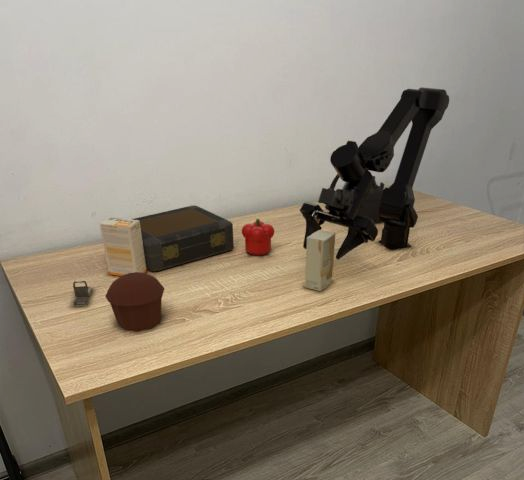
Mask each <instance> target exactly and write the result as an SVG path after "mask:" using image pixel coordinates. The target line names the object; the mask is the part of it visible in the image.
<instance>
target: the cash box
mask: <svg viewBox="0 0 524 480" xmlns="http://www.w3.org/2000/svg"><path fill="white" fill-rule="evenodd" d="M131 220H139V221H140V228H141V235H142V242H143V248H144V255H145V262H146V269H147V270H148V271H150V272H158V271H159V272H160V271H163V270H167V269H171V268H173V267H177V266H181V265H184V264H187V263H190V262H191V263H192V262H194V261H198V260H201V259H204V258H209V257H211V256H216V255H219V254H222V253H225V252H230V251H231V250H233V249H234V224H233V222H232V221H231V220H228V219H227V218H224V217H223V216H220V215H218V214H215V213H213V212H211V211H209V210H207V209H205V208H203V207H200V206H198V205H196V204H195V205H189V206H183V207H179V208H174V209H170V210H167V211H162V212H156V213H153V214H149V215H145V216H144V215H143V216H139V217H135V218H131Z"/></svg>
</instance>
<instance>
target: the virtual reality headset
mask: <svg viewBox="0 0 524 480" xmlns="http://www.w3.org/2000/svg"><path fill="white" fill-rule="evenodd" d="M339 179H340V177H339V175H338V173H336V175H335V176H334V178H333V179H332V181H331V183H330V186H329V187H328V188H327V189H329V190H333V191H336V189H335V188H336V186H337V183H338V182H339ZM384 189H385V183H383V182H382V181H381V182H380V183H379V185H378V184H376V189H373V188H370V190H369V192H368V194H367V195H366V197H365V199H364V201H363V203H362V204H363V206H364V207H363V209H362V210H358V212H357V214H356V215H355V216H357V215H360V216H363V217H367V218H371V219H372V221H373V222H374V224H375V225H377V224H384V222H380V221H379V213H378V205H379V201H380V200H381V197H382V193H383V190H384Z"/></svg>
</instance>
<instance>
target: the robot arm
mask: <svg viewBox="0 0 524 480" xmlns="http://www.w3.org/2000/svg"><path fill="white" fill-rule="evenodd" d="M449 105H450V96H449V95H448V94H447V90H446V89H443V88H431V87H423V86H422V87H419V88H418V89H416V88H407V89H404V90H403V91H402V92H401V95H400V99H399V101H398V102H397V103H396V105H395V106H394V107H393V109H392V111H391V112H390V113H389V115H388V116H387V117H386V119H385V121H384V122H383V123H382V125H381V126H380V128H379V129H378V130H377V131H376V132H375V133H373V134H371V135H369V136H367V137H366V138H365V139H364V140H363V141H362V143H360V144H359V145H358V143H357V141H354V140H347V141H346V143H345V144H343V145H340V146H338V147H337V148H336V149H335V150H333V151H332V153H331V154H330V158H329V161H330V164H331V166H332V167H333V169H334V170H335V172H336V174H338V175H339V179H340V180H341V181H342V182H344V184H343V185H342V187H341V188H337V189H335V191H333V190H329V189H328V188H325V187H322V188H321V190H320V194H319V196H318V200H317V203H313V202H310V201H305V202H303V203H302V205H301V207H300V208H299V212H300V213H301V215H302V217H303V219H304V220H305V232H304V238H303V245H302V247H303V248H304V249H305V250H306V247H307V237H308V236H310V235H311V234H313V233H315V232H316V231H318V230H323V227H322V225H324V224H325V222H327V223H330V224H334V225H338V226H340V227H345V228H347V234H346V236H345V238H344V240H343V241H342V243H341V245H340V247H339V249H338V250H337V252H336V255H335V259H336V260H340V259H342V258H343V257H344V256H346V255H347V254H349V253H350V252H351V251H353V250H355V249H356V248H357V247H359V246H361V245H362V244H368V243H369V241H370V242H375V241H376V239H377V237H378V235H379V229H378V227H377V226H376V224H374V222H373V221H372V219H371V218H367V217H363V216H360V215H357V216H355V215H356V214H357V212H358V210H362V209H363V207H364V206H363V204H362V203H363V201H364V199H365V197H366V195H367V194H368V192H369V190H370V188H373V189H376V185H377V180H376V176H375V175H373V174H372V172H376V173H384V172H385V171H387V169H388V168H389V167H390V165H391V162H392V160H393V158H394V157H395V146H396V144H397V143H398V141H399V139H400V138H401V136H403V134H404V132H405V131H406V129H407V128H408V126H409V125H410V124H411V127H410V130H409V133H408V135H407V140H406V142H405V146H404V149H403V153H402V155H401V159H400V162H399V165H398V168H397V170H396V174H395V177H394V181H393V183H391V184H390V186H389V187H384V189H383V193H382V197H381V200H380V201H379V205H378V213H379V221H380V222H383V228H382V229H381V234H380V235H381V236H380V239H379V240H378V243H379V244H380V245H381V246H383V247H385V248H386V249H388V250H389V251H396V250H401V249H408V248H412V245H411V243H409V237H410V231H411V228H413V229H414V228H415V225H416V224H417V222H418V219H419V215H418V213H417V212H416V209H415V208H414V206H415V202H416V199H415V194H414V190H413V188H414V184H415V181H416V177H417V176H418V173H419V172H418V171H419V168H420V166H421V163H422V160H423V158H424V157H423V156H424V153H425V150H426V148H427V144H428V142H429V139H430V135H431V133H432V129H434V127H436V126H437V125H438V124H439V123H440V122H441V121H442V119H443V117H444V116H445V115H444V114H445V112H446V110H447V109H448V106H449ZM318 203H319V204H318ZM320 204H324V205H325V206H324V208H325V209H326V210H327V211H328V212H326V211H324V209H323V208H322V207H321V206H320Z"/></svg>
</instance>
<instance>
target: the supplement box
mask: <svg viewBox="0 0 524 480" xmlns="http://www.w3.org/2000/svg"><path fill="white" fill-rule="evenodd" d="M131 219H132V218H131ZM131 219H129V218H122V217H121V218H120V217H112V216H110V217H108V218H106V219H104V220H103V221H101V222H100V223H99V227H100V232H101V239H102V243H103V248H104V255H105V259H106V265H107V269H108V274H109V275H111V276H117V277H121V276H123V275H125V274H128V273H134V272H141V273H145V274H146V272H148V271H147V270H148V269H147V268H146V262H145V255H144V248H143V242H142V235H141V228H140V221H139V220H131Z"/></svg>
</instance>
